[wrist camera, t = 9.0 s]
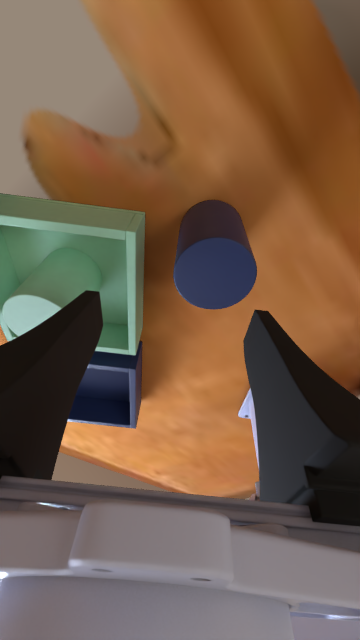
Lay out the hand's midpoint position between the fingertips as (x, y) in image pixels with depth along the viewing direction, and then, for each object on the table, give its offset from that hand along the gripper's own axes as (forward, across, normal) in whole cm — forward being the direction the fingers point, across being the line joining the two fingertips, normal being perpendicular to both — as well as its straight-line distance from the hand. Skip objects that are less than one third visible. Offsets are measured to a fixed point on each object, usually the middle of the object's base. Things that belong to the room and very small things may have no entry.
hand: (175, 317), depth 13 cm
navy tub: (+9, +8, +16) cm, 20 cm away
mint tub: (+9, +8, +4) cm, 12 cm away
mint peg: (+8, +8, +4) cm, 12 cm away
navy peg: (+9, -2, -1) cm, 9 cm away
